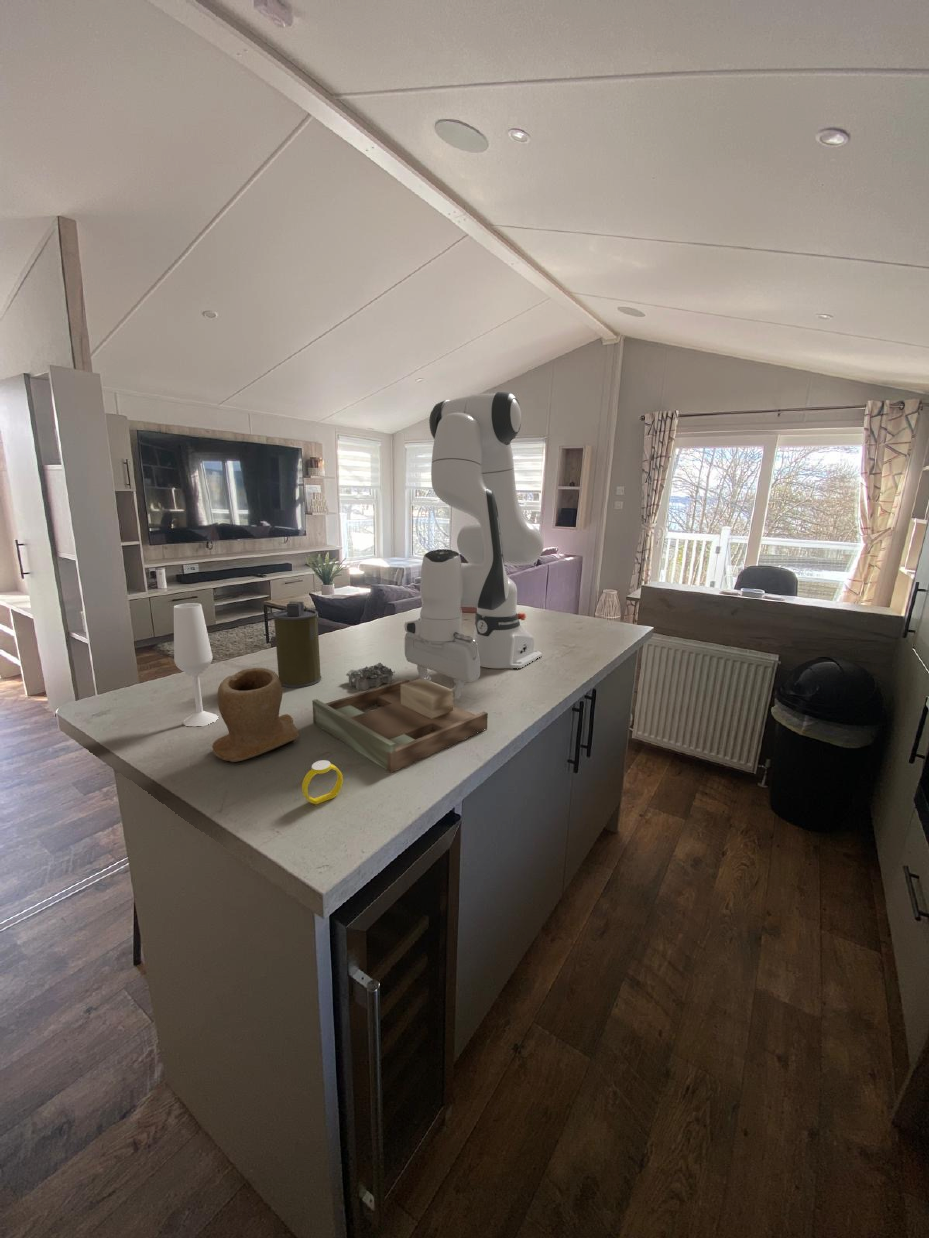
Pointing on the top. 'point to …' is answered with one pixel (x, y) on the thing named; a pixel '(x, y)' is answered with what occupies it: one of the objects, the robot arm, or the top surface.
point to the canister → (297, 645)
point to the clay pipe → (252, 715)
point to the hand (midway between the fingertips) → (440, 690)
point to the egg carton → (370, 676)
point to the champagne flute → (192, 654)
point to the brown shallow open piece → (393, 726)
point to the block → (427, 697)
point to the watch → (321, 768)
